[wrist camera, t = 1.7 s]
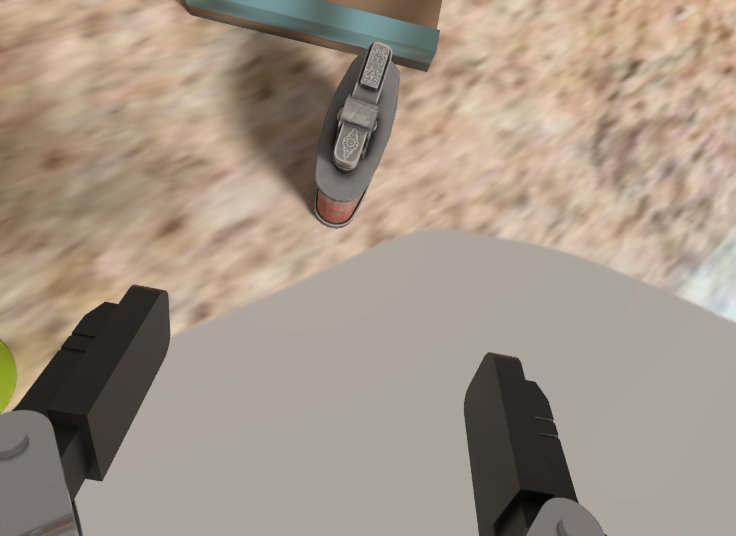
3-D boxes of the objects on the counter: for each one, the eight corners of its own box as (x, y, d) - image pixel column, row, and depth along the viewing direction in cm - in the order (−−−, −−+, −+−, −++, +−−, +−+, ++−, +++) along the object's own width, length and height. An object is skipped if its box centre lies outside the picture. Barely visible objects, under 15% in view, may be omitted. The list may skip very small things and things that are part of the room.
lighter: (353, 235, 32) (373, 196, 22) (303, 219, 32) (300, 171, 22) (389, 123, 33) (423, 37, 23) (341, 106, 33) (354, 12, 23)
